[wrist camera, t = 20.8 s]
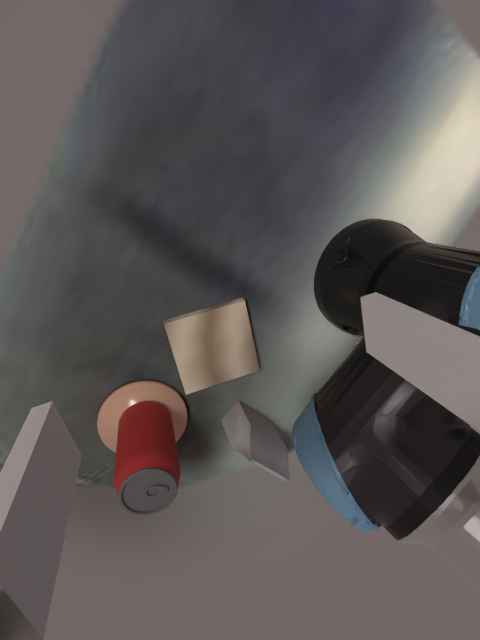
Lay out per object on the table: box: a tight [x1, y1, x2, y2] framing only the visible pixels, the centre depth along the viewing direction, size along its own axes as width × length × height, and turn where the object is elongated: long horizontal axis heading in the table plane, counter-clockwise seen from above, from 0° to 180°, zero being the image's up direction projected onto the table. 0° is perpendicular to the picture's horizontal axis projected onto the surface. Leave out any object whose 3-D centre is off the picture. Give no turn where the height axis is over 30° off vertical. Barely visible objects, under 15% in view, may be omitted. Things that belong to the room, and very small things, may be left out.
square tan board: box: [163, 298, 260, 395], centre depth 45 cm, size 10×10×1 cm
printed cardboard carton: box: [221, 401, 291, 483], centre depth 47 cm, size 4×7×10 cm, turn 49°
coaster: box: [97, 379, 187, 453], centre depth 46 cm, size 11×11×1 cm
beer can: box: [114, 401, 180, 515], centre depth 40 cm, size 7×7×12 cm
